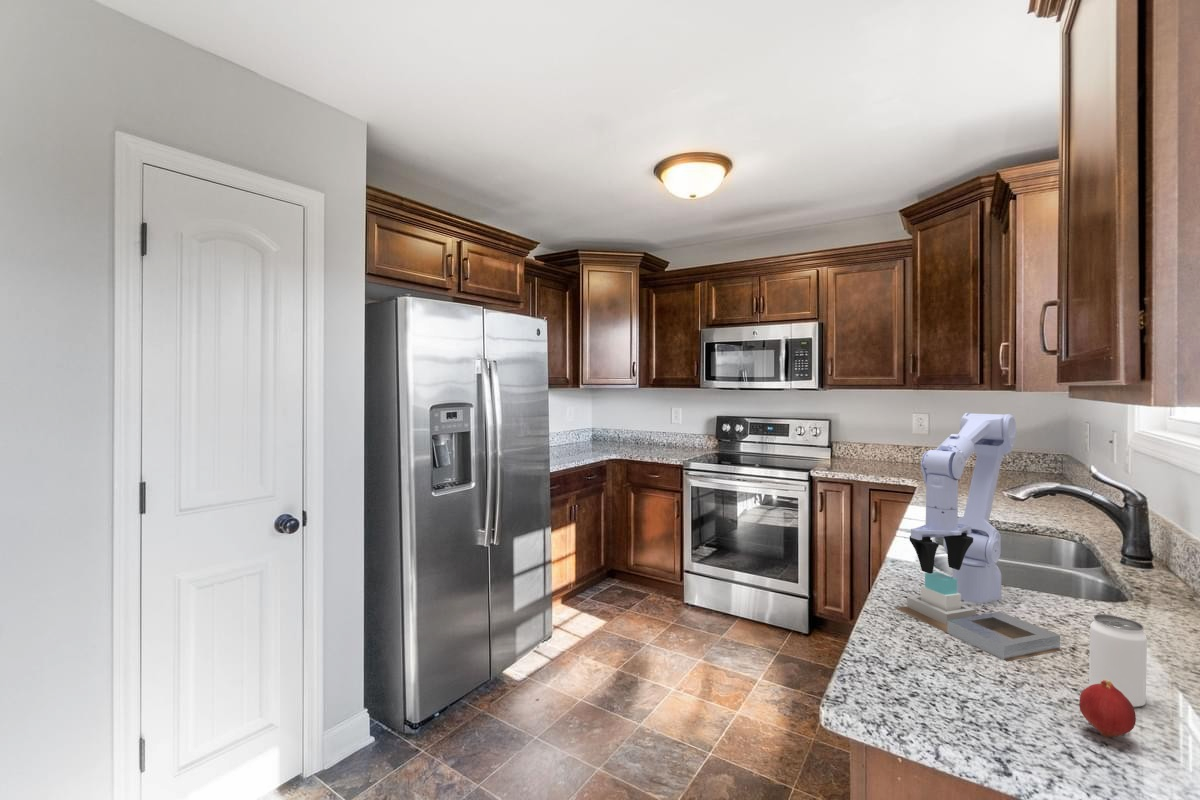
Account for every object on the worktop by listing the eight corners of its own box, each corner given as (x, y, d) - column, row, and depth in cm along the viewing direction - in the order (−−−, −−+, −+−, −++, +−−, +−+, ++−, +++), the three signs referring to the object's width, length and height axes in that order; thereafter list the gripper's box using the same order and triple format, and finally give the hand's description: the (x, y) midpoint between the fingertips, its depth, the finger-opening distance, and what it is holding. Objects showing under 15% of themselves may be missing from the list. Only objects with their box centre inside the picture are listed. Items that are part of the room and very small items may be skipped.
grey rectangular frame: (934, 602, 120) (934, 592, 120) (975, 620, 111) (975, 609, 111) (907, 606, 118) (907, 596, 118) (946, 625, 109) (946, 614, 109)
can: (1157, 711, 81) (1159, 632, 81) (1107, 706, 82) (1109, 628, 82) (1125, 687, 87) (1126, 614, 87) (1079, 683, 89) (1080, 611, 88)
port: (999, 623, 109) (1000, 611, 109) (1059, 648, 99) (1060, 635, 99) (947, 632, 105) (947, 620, 105) (1004, 660, 95) (1004, 645, 95)
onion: (1080, 717, 79) (1081, 664, 79) (1135, 735, 75) (1136, 679, 75) (1077, 735, 75) (1078, 679, 75) (1135, 755, 71) (1136, 696, 71)
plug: (935, 606, 118) (935, 570, 118) (960, 617, 112) (961, 579, 112) (920, 608, 117) (921, 572, 116) (945, 620, 111) (946, 581, 111)
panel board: (944, 604, 121) (944, 600, 121) (1062, 654, 98) (1062, 649, 98) (895, 611, 117) (895, 608, 117) (1006, 665, 94) (1007, 661, 94)
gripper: (931, 513, 108) (931, 580, 108) (985, 508, 112) (984, 572, 112) (902, 505, 115) (902, 568, 115) (954, 501, 119) (953, 562, 119)
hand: (940, 570), depth 114 cm, fingers open, 7 cm apart
